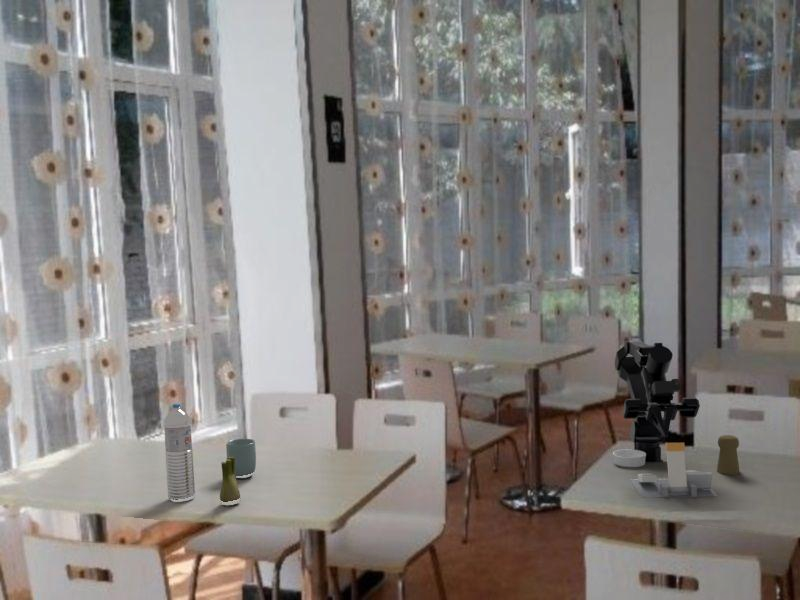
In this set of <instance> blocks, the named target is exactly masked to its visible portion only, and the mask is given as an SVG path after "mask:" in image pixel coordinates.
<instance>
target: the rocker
mask: <svg viewBox="0 0 800 600" xmlns="http://www.w3.org/2000/svg"><path fill="white" fill-rule="evenodd" d="M657 477H658V476H657V475H656V474H654V473H637V479H638V480H639V481H641V482H657Z"/></svg>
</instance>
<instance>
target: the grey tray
mask: <svg viewBox="0 0 800 600" xmlns="http://www.w3.org/2000/svg"><path fill="white" fill-rule="evenodd" d="M629 480H630V483H631V484H632V485H633V486H634V488H635V490H636V491H637V493H638V495H640V497H641V498H693V497H694V498H695V497H696V498H703V497H707V498H708V497H709V498H710V497H712V498H713V497H719V496H718V495H717V493H716V492H714V490H713V489H712V488H711V489H697V487H696V485H695V484H694V483H688V493H671V494H669V493H668V486H669V481H668V477H667V478H661V477H660V478H659V477H658V478H657V482H641V481H639V480H638V478H629Z"/></svg>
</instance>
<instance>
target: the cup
mask: <svg viewBox="0 0 800 600" xmlns="http://www.w3.org/2000/svg"><path fill="white" fill-rule="evenodd" d="M225 445H226V447H225V449H226V458H227V457H235V476H243V475H248V474H251V473H253V472H254V473H255V471H256V465H257V452H256V450H257V448H256V441H255V440H254V439H251V438H235V439H232V440H229V441H227V442H226V444H225Z"/></svg>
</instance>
